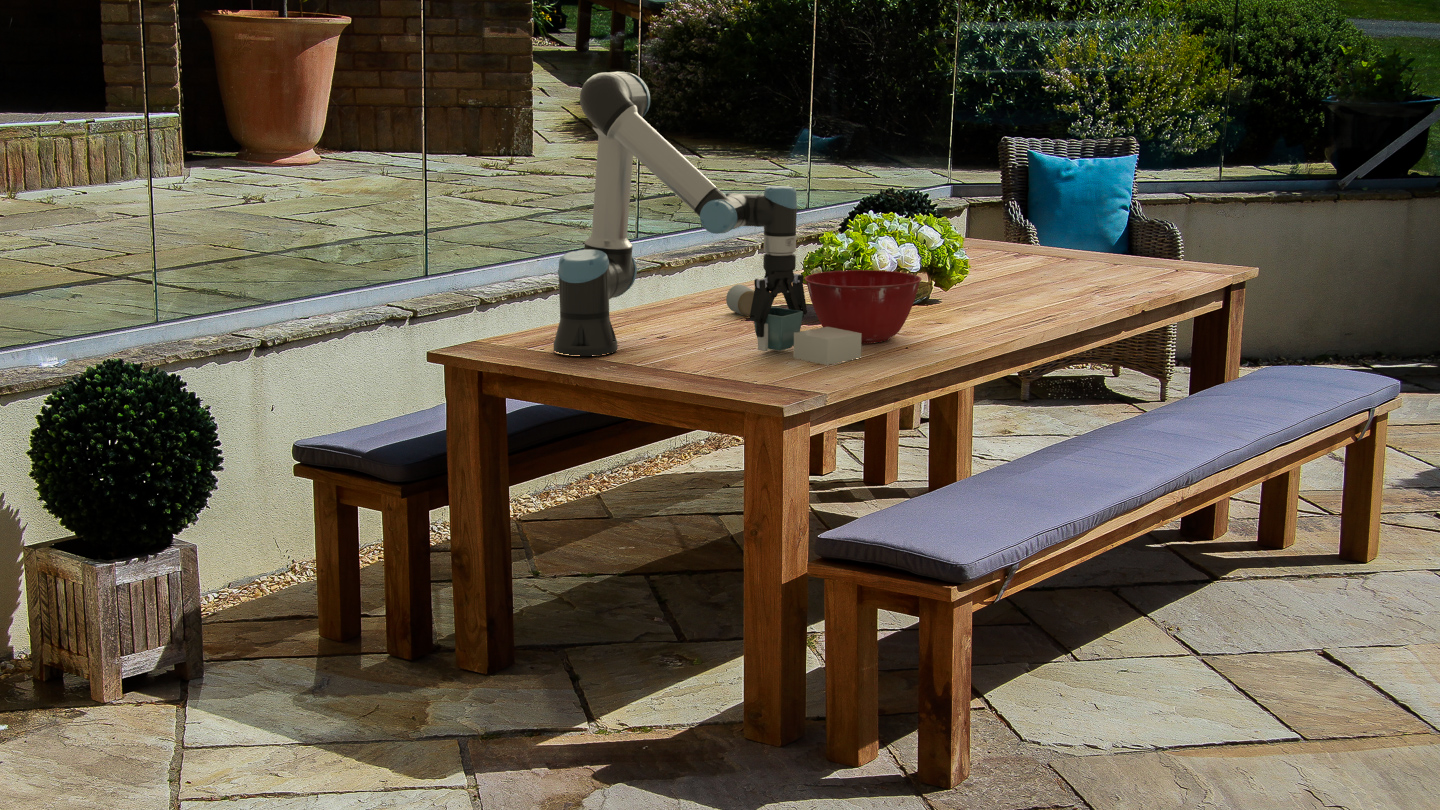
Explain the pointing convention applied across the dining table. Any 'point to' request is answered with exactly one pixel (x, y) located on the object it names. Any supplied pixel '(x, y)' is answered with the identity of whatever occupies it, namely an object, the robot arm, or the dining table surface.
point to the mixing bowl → (863, 301)
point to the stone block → (827, 345)
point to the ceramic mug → (740, 299)
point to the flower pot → (782, 327)
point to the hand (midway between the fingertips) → (777, 347)
